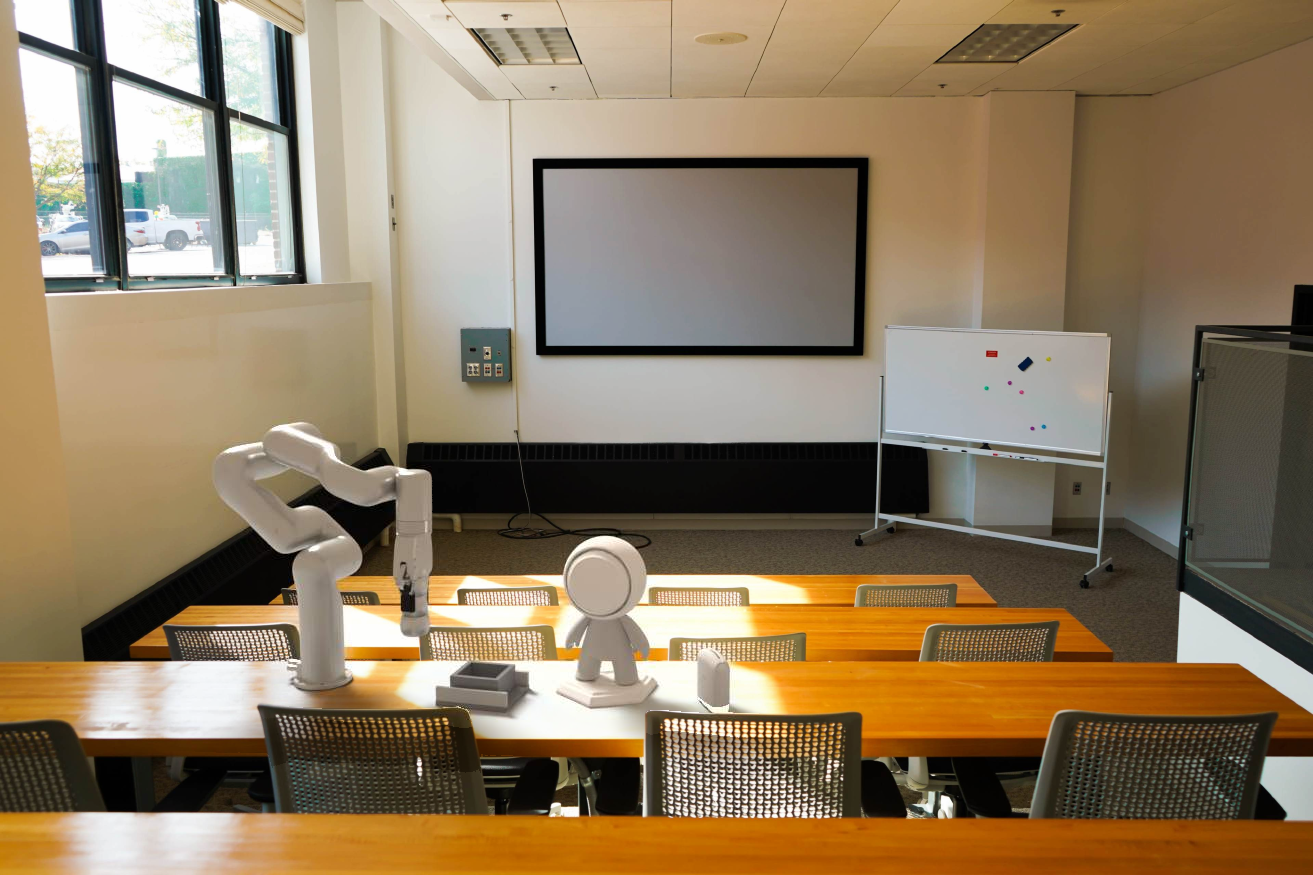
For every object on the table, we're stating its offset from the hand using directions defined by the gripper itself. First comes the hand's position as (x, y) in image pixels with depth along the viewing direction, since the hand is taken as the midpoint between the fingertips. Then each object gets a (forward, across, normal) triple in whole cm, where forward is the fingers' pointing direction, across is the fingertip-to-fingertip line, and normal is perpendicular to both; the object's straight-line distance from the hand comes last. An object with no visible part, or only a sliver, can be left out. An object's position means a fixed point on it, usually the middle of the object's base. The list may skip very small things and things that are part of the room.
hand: (414, 606), depth 213 cm
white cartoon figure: (+19, -12, +41) cm, 46 cm away
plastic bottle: (+7, 0, 0) cm, 7 cm away
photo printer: (+18, -8, +66) cm, 68 cm away
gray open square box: (+19, -1, +16) cm, 25 cm away
